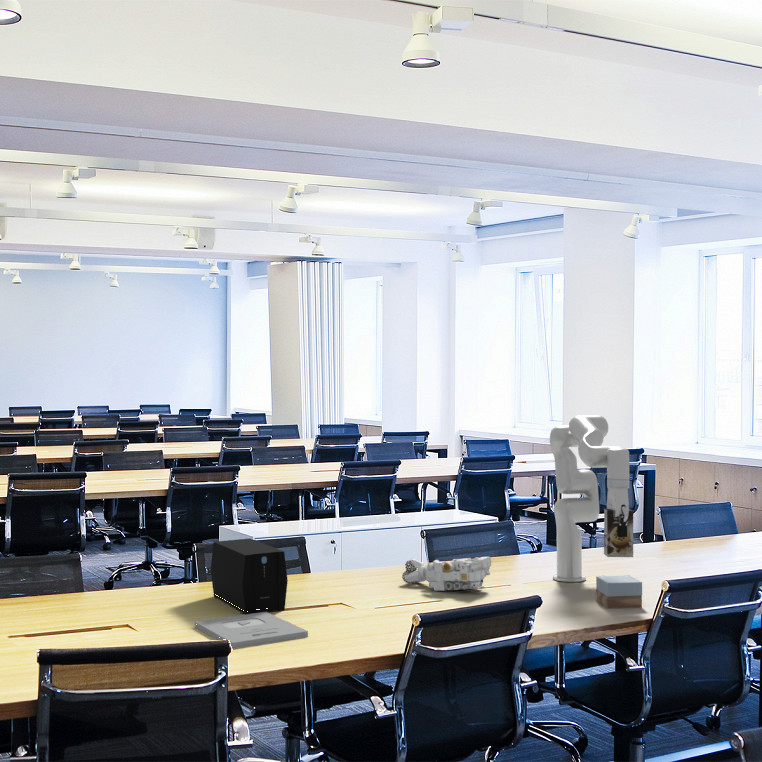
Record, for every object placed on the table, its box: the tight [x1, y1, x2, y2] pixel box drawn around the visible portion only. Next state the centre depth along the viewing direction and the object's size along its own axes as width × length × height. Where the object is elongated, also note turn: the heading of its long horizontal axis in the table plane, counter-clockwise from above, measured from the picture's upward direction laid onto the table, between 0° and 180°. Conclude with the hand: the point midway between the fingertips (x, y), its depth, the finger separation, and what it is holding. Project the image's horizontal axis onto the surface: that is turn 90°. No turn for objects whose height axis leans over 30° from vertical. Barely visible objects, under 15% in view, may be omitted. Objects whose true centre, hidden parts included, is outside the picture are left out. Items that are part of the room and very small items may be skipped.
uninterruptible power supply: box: [210, 538, 288, 615], centre depth 345 cm, size 16×34×20 cm, turn 29°
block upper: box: [595, 574, 643, 597], centre depth 339 cm, size 12×12×4 cm
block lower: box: [595, 589, 643, 609], centre depth 339 cm, size 12×12×4 cm
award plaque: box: [194, 612, 309, 650], centre depth 304 cm, size 25×30×2 cm
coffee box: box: [603, 508, 634, 558], centre depth 339 cm, size 9×6×16 cm
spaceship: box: [401, 556, 492, 592], centre depth 366 cm, size 16×35×12 cm, turn 60°
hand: (618, 534), depth 339 cm, fingers closed on coffee box, 6 cm apart
